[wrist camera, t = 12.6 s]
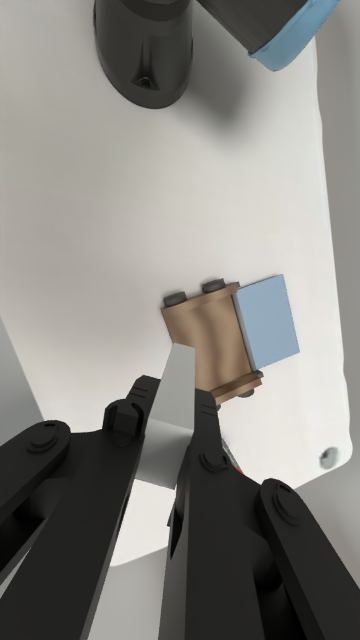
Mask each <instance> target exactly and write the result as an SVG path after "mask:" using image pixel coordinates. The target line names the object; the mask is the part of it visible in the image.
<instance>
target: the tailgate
mask: <svg viewBox="0 0 360 640" xmlns="http://www.w3.org/2000/svg"><path fill="white" fill-rule="evenodd" d="M231 298H232V301H233V305H234V309H235V312H236V316H237V320H238V323H239V327H240V331H241V334H242V338H243V342H244V345H245V349H246V353H247V356H248V360H249V364H250V367H251V370H252V371H256V370H257V369H260V368H262V367H265V366H267V365H270V364H272V363H275V362H277V361H279V360H282V359H284V358H287V357H289V356H292V355H294V354H297V353H299V352H300V350H299V346H298V341H297V337H296V332H295V327H294V323H293V318H292V313H291V309H290V304H289V299H288V295H287V290H286V285H285V281H284V276H283V274H281V275H278V276H275V277H272V278H269V279H266V280H263V281H260V282H258V283H255V284H252V285H249V286H246V287H243V288H240V289H237V293H234V294H232V295H231Z"/></svg>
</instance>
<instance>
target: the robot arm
mask: <svg viewBox="0 0 360 640" xmlns="http://www.w3.org/2000/svg"><path fill="white" fill-rule="evenodd" d="M339 1H340V0H197V2H199V3H200V4H201V5H202V6H203V7H204V8H205V9H206V10H207V11H208V12H209V13H210V14H211V15H212V16H213V17H214V18H215V19H216V20H217V21H218V22H219V23H220V24H221V25H222V26H223V27H224V28H225V29H226V30H227V31H228V32H229V33H230V34H231V35H232V36H233V37H234V38H235V39H236V40H237V41H239V42H240V43H241V44H242V45H243V46H244V47H245V48H246V49H247V50H248V55H249V56H250V57H251V58H256V59H257V60H258V61H260V62H261V63H262V64H263V65H264V66H265V67H267V68H268V69H269V70H271V71H278V70H281V69H283V68H284V67H286V66H287V65H289V64H290V63H291V62H292V61H293V60H294V59H295V58H296V57H297V56H298V55H299V53H300V52H301V51H302V50H303V49H304V48H305V46H306V45H307V44H308V43H309V41H310V40H311V39H312V38H313V36H314V35H315V34H316V32H317V31H318V30H319V29H320V27H321V26H322V25H323V23H324V22H325V21H326V19H327V18H328V17H329V15H330V14H331V12H332V11H333V10H334V8H335V7H336V5H337V4H338V3H339ZM93 26H94V34H95V40H96V46H97V52H98V56H99V59H100V62H101V65H102V67H103V70H104V72H105V73H106V75H107V77H108V79H109V80H110V81H111V83H112V84H113V85H114V87H115V88H116V89H117V90H118V91H119V92H120V93H121V94H122V95H123V96H125V97H126V98H127V99H129V100H130V101H132V102H134V103H136V104H138V105H141V106H144V107H148V108H162V107H166V106H168V105H171V104H172V103H174V102H175V101H177V100H178V99H179V98H180V96H181V95H182V94H183V92H184V90H185V88H186V86H187V83H188V80H189V75H190V70H191V66H192V59H193V40H192V0H95V3H94V10H93ZM134 479H138V480H141V481H145V482H148V483H152V484H155V485H159V486H163V487H166V488H170V489H173V490H175V487H176V484H177V489H176V498H175V501H174V504H173V507H172V510H171V513H170V516H169V520H168V523H167V526H169V527H170V533H169V542H168V552H167V561H166V570H165V580H164V589H163V599H162V608H161V618H160V627H159V637H158V640H360V589H359V587H358V586H357V584H356V583H355V581H354V580H353V578H352V576H351V575H350V573H349V572H348V570H347V569H346V567H345V565H344V564H343V562H342V561H341V559H340V558H339V556H338V554H337V553H336V551H335V550H334V548H333V547H332V545H331V543H330V542H329V540H328V539H327V537H326V535H325V534H324V532H323V531H322V529H321V528H320V526H319V524H318V523H317V521H316V520H315V518H314V516H313V515H312V514H311V512H310V510H309V509H308V507H307V505H306V504H305V503H304V502H303V500H302V499H301V498H300V496H299V495H298V494H297V493H296V492H295V491H294V490H293V489H292V488H291V487H289V486H288V485H287V484H285V483H283V482H282V481H280V480H277V479H273V478H269V479H266V480H264V481H263V483H262V485H260V484H258V483H257V482H255V481H253V480H252V479H250V478H249V477H247V476H245V475H244V474H242V473H241V472H240V471H238V470H237V469H236V468H235V467H234V466H233V465H232V462H231V460H230V457H229V456H228V454H227V453H226V451H225V450H224V449H223V446H222V439H221V433H220V426H219V419H218V413H217V406H216V400H215V398H214V397H213V395H212V394H211V392H209V391H205V390H201V389H197V388H195V348H193V347H189V346H185V345H181V344H177V343H173V346H172V349H171V352H170V355H169V358H168V361H167V364H166V367H165V370H164V373H163V376H162V379H157V378H153V377H149V376H145V375H143V376H141V377H140V378H138V379H136V381H135V383H134V385H133V386H132V388H131V390H130V392H129V394H128V395H127V397H126V399H120V400H116V401H114V402H112V403H110V404H109V405H108V406H107V407H106V408H105V413H104V420H103V426H102V429H100V430H97V431H93V432H82V433H71V431H70V427H69V426H68V425H67V424H66V423H65V422H62V421H58V420H47V421H43V422H40V423H37V424H35V425H33V426H31V427H29V428H27V429H25V430H24V431H22V432H21V433H20V434H18V435H17V436H15V437H14V438H12V439H11V440H9V441H8V442H6V443H5V444H3V445H2V446H0V585H1V584H2V583H3V582H4V580H5V579H6V578H7V576H8V575H9V574H10V573H11V572H12V570H13V569H14V568H15V567H16V565H17V564H18V563H19V562H20V560H21V559H22V558H23V556H24V555H25V554H26V553H27V552H28V550H29V549H30V548H31V549H30V550H29V552H28V554H27V555H26V557H25V559H24V560H23V562H22V564H21V565H20V567H19V569H18V570H17V572H16V574H15V575H14V577H13V579H12V580H11V582H10V584H9V585H8V587H7V589H6V590H5V592H4V594H3V595H2V597H1V599H0V640H87V639H88V636H89V632H90V629H91V625H92V622H93V619H94V615H95V612H96V609H97V605H98V602H99V599H100V595H101V591H102V588H103V585H104V582H105V578H106V575H107V572H108V568H109V565H110V562H111V558H112V555H113V551H114V548H115V545H116V541H117V538H118V535H119V531H120V528H121V524H122V521H123V518H124V514H125V511H126V508H127V504H128V501H129V497H130V493H131V489H132V485H133V482H134Z"/></svg>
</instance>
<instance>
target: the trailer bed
mask: <svg viewBox="0 0 360 640" xmlns="http://www.w3.org/2000/svg"><path fill="white" fill-rule="evenodd" d="M203 287H204V290H205V293H203V294H200V295H198V296H195V297H192V298H189V299H187V298H186V295H185V292H180V293H177V294H174V295H171V296H168V297H166V298H164V300H165V303H166V307H163V308H161V311H162V313H163V316H164V319H165V322H166V325H167V328H168V331H169V334H170V336H171V339H172V342H173V343H177V344H181V345H185V346H189V347H193V348H195V388H197V389H201V390H205V391H209V392H211V394H212V395H213V397H214V398H215V400H216V406H217V411H218V410H219V409H220V407H221V405H220V404H221V403H223V402H225V401H227V400H229V399H232V398H234V397H236V396H238V397H242V398H245V397H249V396H251V395H253V393H254V388H255V387H257V386H260V385H262V382H261V379H260V378H262V377H264V376H263V373H262V372H261V371H259V370H258V369H257V370H256V371H252V370H251V368H250V365H249V361H248V358H247V354H246V350H245V347H244V343H243V339H242V336H241V332H240V328H239V325H238V321H237V317H236V314H235V310H234V306H233V303H232V299H231V295H232V294H234V293H237V288H238V287H240V284H239V282H234V283H231V284H228V285H225V283H224V279H223V278H222V279H219V280H216V281H212V282H209V283H207V284H204V285H203Z"/></svg>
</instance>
